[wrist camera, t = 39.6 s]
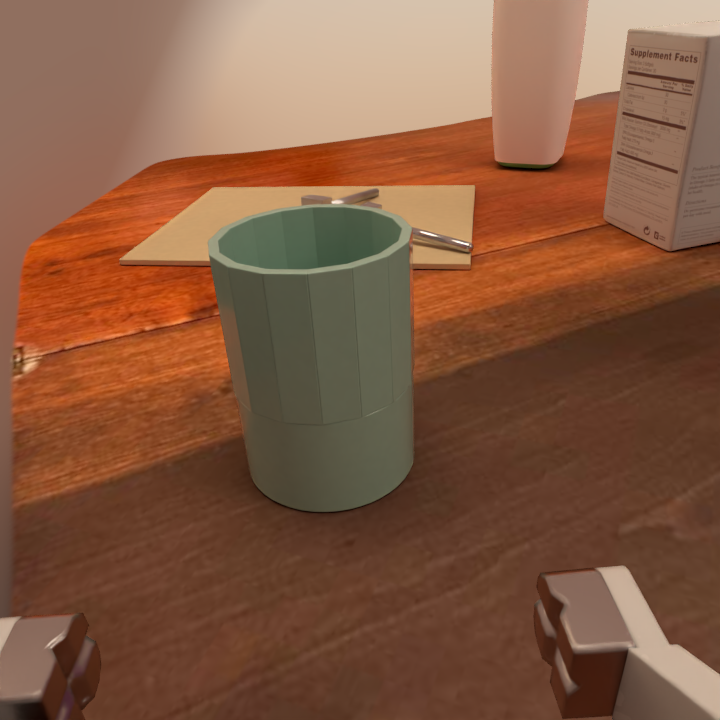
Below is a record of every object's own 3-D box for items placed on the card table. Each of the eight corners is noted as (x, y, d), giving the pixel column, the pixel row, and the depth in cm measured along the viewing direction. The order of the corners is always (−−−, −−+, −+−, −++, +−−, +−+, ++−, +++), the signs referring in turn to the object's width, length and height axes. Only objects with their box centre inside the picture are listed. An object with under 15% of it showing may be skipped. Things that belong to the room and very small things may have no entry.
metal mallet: (464, 268, 41) (351, 235, 45) (477, 258, 43) (367, 227, 47) (467, 239, 40) (352, 208, 44) (481, 229, 42) (368, 200, 46)
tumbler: (225, 505, 23) (174, 272, 18) (274, 403, 28) (244, 204, 24) (406, 519, 22) (400, 274, 17) (420, 410, 27) (418, 203, 23)
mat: (120, 264, 44) (118, 259, 44) (214, 191, 60) (213, 187, 59) (470, 269, 40) (470, 263, 40) (474, 189, 55) (475, 185, 55)
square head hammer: (367, 178, 54) (300, 196, 48) (387, 180, 53) (322, 200, 47) (367, 202, 55) (301, 223, 48) (387, 204, 54) (322, 227, 47)
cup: (560, 175, 58) (580, -15, 50) (481, 170, 61) (489, -10, 53) (573, 156, 64) (593, -17, 56) (500, 153, 66) (510, -13, 59)
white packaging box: (684, 206, 48) (723, 18, 42) (762, 237, 42) (821, 21, 36) (598, 220, 47) (624, 26, 40) (666, 254, 41) (710, 31, 34)
